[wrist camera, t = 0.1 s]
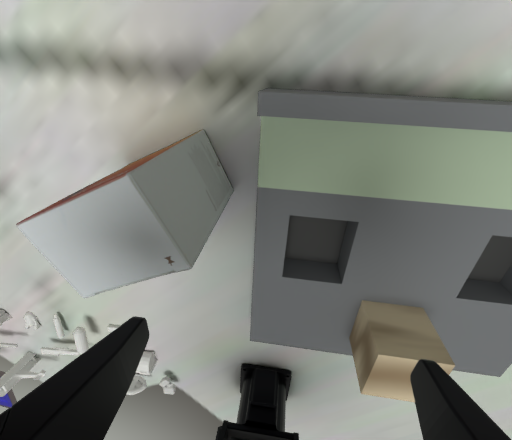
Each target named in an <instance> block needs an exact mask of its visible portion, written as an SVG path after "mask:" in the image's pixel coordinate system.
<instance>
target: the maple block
mask: <svg viewBox="0 0 512 440" xmlns="http://www.w3.org/2000/svg"><path fill="white" fill-rule="evenodd" d="M349 339H350V344H351V348H352V353H353V358H354V363H355V367H356V372H357V377H358V382H359V386H360V391H361V394H365V395H372V396H378V397H384V398H391V399H397V400H403V401H410V402H415V400H414V395H413V390H412V386H411V381H410V375H411V372H412V371H413V369H414V367H415V365H416V364H417V362H418V361H419V360H420V359H426V360H432V361H435V362H436V363H437V364H438V365H439V366H440V367H441V368H442V369H443V370H444V371H445V372H446V373H447V374H448V375H449V374H450V372H451V371H452V370H453V368H454V367H455V364H454V362H453V360H452V358H451V357H450V355H449V353H448V351H447V350H446V348H445V346H444V344H443V342H442V341H441V339H440V337H439V335H438V333H437V332H436V330H435V328H434V326H433V325H432V323H431V321H430V319H429V317H428V316H427V314H426V312H425V310H424V308H420V307H412V306H404V305H396V304H388V303H380V302H372V301H364V300H362V302H361V305H360V308H359V311H358V314H357V317H356V320H355V323H354V326H353V329H352V332H351V334H350V337H349Z"/></svg>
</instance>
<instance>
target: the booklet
mask: <svg viewBox="0 0 512 440" xmlns="http://www.w3.org/2000/svg"><path fill="white" fill-rule="evenodd" d="M4 374H5V372H3V371H0V378H1V377H2V376H3V375H4ZM4 385H5V384H4ZM1 388H2V387H1ZM15 403H17V400H16V398H15V395H14V393H13V390H12V388H11V389H10V390H9V391H8V392H7V393H6V394H5V395H4V396H2V397H0V406H2V407H6V408H12V406H13V405H14V404H15Z"/></svg>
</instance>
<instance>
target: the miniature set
mask: <svg viewBox="0 0 512 440" xmlns="http://www.w3.org/2000/svg"><path fill="white" fill-rule="evenodd" d="M11 318H12V317H11V315H9V314H7V313H5V311H4V310H0V326H1V325H2V323H3V322H4V321H6V320H9V319H11ZM37 319H38V318H37V316H35V315H34V314H33V313H32V312H27V313H26V314H25V316H24V320H25V321H26V327H25V329H28V328H29V327H31V326H34V325H35V327H34V329H36V330H37V329H38V328H39V327H40V326H41V325H40V324H39V323H38V321H37ZM53 319H54V320H53V321H54V324H55V328H56V332H57V335H58V338H59V339H61V338H63V337H64V336H65V335H64V331H63V327H62V324H61V320H60V317H59V316H58V315H57V314H54V318H53ZM118 327H120V326H119V325H109V326H108V327H107V328H108V331H111V332H113V331H114V330H115V329H117V328H118ZM73 336H74V340H75V344H76V348H77V350H69V348H58V347H56V348H55V349H53V348H45V347H42V348H41V353H42V355H44V354H53V355H56V356H59V355H60V354H62V355H79V354H81V353H82V354H83V353H84V352H86V351H87V350H88V349H89V346H88V341H87V336H86V332H85V329H84V328H83V327H77V328H76V329H75V330H74V331H73ZM1 346H2V347H18V345H17V344H8V343H0V349H1ZM35 355H36V353H31V352H28V353H27V354H26V355H25V356H24V357H23V358H22V359H20V360H19V361H18V362H17V363H16V364H15V365H14V366H13V367H12V368H11V369H10V370H9V371H8V372H7V373H5V374H4V375H3V376H2V377H1V378H0V397H2V396H4V395H5V394H6V393H7V392H8V391H9V390H10V389H11V388H12V387H13V386H14V385H15V384H16V383H17V382H18V381H19V380H20V379H21V378H34V380H37V379H40V378H41V377H44V376H45V372H46V371H44V370H42V371H41V372H40V373H34V372H29V370H30V369H31V368H32V367H33V366H34V365H35V364H36V363H37V362H38V361H39V360H40V358H35V357H34V356H35ZM30 359H31V360H30ZM28 361H29V362H28ZM27 362H28V363H27ZM26 363H27V364H26ZM156 363H157V359H156V357H155V353H154V352H148V351H144V352H143V355H142V357H141V360H140V362H139V365H138V368H137V370H136V373H139V374H143V375H151V373H152V371H153V369H154V367H155V365H156ZM25 364H26V365H25ZM170 380H171V379H170V378H169V377H168V376H166V377H164V378H163V379H162V380H161V381H160V384H159V385H160V386H162V387H163V389H164V393H165V394H174V393H175V385H174V384H172V383H171V382H170ZM170 383H171V384H170ZM4 384H5V385H4ZM1 387H2V388H1ZM146 387H147V383H146V380H145V379H144V378H142V377H141V376H134V378H133V380H132V383H131V385H130V387H129V389H128V392H127V395H134V394H137V393H140V392H141V391H143V390H144V389H146Z"/></svg>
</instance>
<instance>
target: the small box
mask: <svg viewBox="0 0 512 440" xmlns="http://www.w3.org/2000/svg"><path fill="white" fill-rule="evenodd" d="M233 191H234V190H233V188H232V186H231V184H230V182H229V180H228V178H227V176H226V174H225V172H224V170H223V168H222V166H221V164H220V162H219V160H218V158H217V156H216V154H215V152H214V150H213V147H212V145H211V143H210V141H209V139H208V137H207V135H206V133H205V131H204V130H200V131H198V132H196V133H194V134H192V135H190V136H188V137H186V138H184V139H182V140H180V141H178V142H176V143H174V144H172V145H170V146H168V147H165V148H163V149H161V150H159V151H157V152H155V153H152V154H150V155H148V156H146V157H144V158H142V159H139V160H137V161H135V162H133V163H131V164H129V165H127V166H125V167H124V168H122V169H120V170H118V171H116V172H114V173H112V174H110V175H108V176H106V177H104V178H103V179H101V180H99V181H97V182H95V183H93V184H91V185H89V186H87V187H85V188H83V189H81V190H79V191H77V192H75V193H73V194H71V195H69V196H67V197H66V198H64V199H62V200H60V201H58V202H56V203H54V204H52V205H50V206H49V207H47V208H45V209H43V210H41V211H39V212H37V213H35V214H34V215H32V216H30V217H28V218H26V219H24V220H22V221H20V222H19V223H17V224H16V225H17V227H18V228H19V230H20V231H21V232H22V233H23V234H24V235H25V237H26V238H27V239H28V240H29V241H30V242H31V243H32V244H33V245H34V246H35V247H36V248H37V249H38V251H39V252H40V253H41V254H42V255H43V256H44V257H45V258H46V259H47V260H48V261H49V262H50V263H51V265H52V266H53V267H54V268H55V269H56V270H57V271H58V272H59V273H60V274H61V275H62V276H63V277H64V278H65V279H66V281H67V282H68V283H69V284H70V285H71V286H72V287H73V288H74V289H75V290H76V291H77V292H78V293H79V294H80V295H81V297H83V298H88V297H91V296H94V295H97V294H100V293H103V292H106V291H109V290H113V289H116V288H120V287H123V286H127V285H130V284H134V283H137V282H141V281H144V280H148V279H151V278H155V277H159V276H163V275H167V274H171V273H175V272H180V271H185V270H189V269H191V268H192V267H193V265H194V263H195V261H196V259H197V258H198V256H199V254H200V252H201V250H202V249H203V247H204V245H205V243H206V241H207V239H208V237H209V236H210V234H211V232H212V230H213V228H214V226H215V225H216V223H217V221H218V219H219V217H220V215H221V214H222V212H223V210H224V208H225V206H226V204H227V202H228V200H229V199H230V197H231V195H232V193H233Z"/></svg>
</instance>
